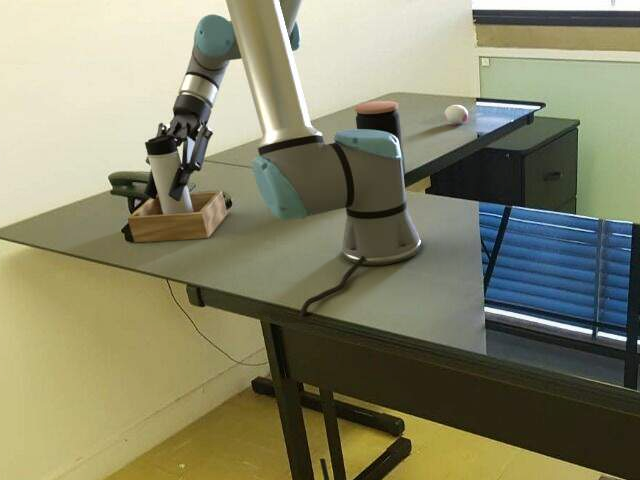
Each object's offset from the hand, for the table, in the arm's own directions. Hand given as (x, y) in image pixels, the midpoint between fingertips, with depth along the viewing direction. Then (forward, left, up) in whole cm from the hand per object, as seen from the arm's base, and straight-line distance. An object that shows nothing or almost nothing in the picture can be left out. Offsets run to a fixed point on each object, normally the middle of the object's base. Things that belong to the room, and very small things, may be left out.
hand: (161, 197), depth 169 cm
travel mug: (+3, -2, -8) cm, 9 cm away
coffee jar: (+32, -44, -8) cm, 56 cm away
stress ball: (+90, -62, -8) cm, 110 cm away
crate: (+3, -1, -8) cm, 9 cm away
